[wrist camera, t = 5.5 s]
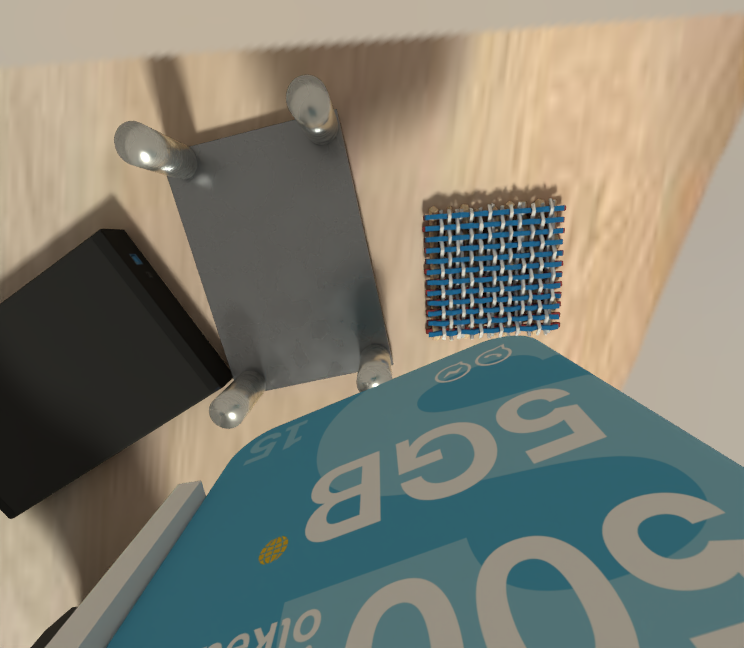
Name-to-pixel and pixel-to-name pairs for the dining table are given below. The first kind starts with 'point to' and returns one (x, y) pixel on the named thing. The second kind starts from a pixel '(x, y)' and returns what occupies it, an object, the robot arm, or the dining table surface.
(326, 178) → the chassis
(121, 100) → the dining table surface
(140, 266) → the external hard drive
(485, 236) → the woven mat
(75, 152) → the dining table surface
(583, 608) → the data package
